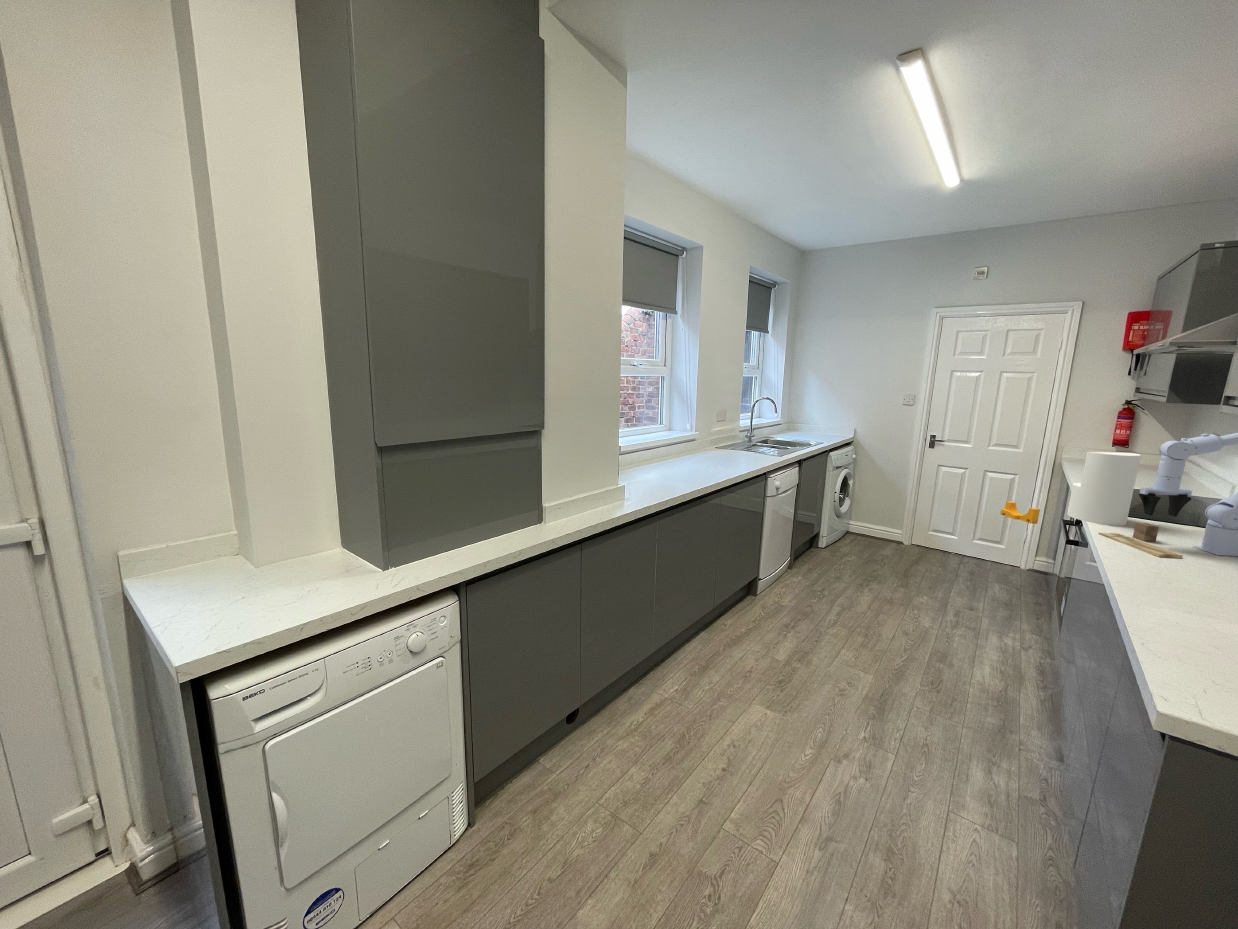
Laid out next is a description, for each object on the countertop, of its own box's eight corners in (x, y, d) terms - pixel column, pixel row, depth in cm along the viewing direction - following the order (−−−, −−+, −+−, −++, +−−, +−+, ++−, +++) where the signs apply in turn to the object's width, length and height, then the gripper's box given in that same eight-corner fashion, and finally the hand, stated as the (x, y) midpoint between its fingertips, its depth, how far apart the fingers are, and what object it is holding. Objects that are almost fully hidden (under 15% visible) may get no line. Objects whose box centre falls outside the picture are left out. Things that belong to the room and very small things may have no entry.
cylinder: (1139, 527, 189) (1154, 456, 184) (1093, 526, 189) (1108, 455, 184) (1096, 515, 206) (1110, 449, 201) (1055, 514, 206) (1067, 448, 201)
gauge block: (1144, 539, 175) (1147, 523, 174) (1155, 543, 171) (1159, 526, 170) (1132, 538, 175) (1135, 522, 174) (1143, 542, 171) (1146, 525, 170)
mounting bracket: (999, 516, 201) (1002, 501, 200) (1009, 516, 202) (1011, 501, 201) (1027, 525, 189) (1030, 509, 188) (1037, 525, 190) (1039, 509, 189)
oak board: (1118, 536, 178) (1119, 533, 178) (1182, 558, 156) (1182, 554, 156) (1098, 535, 178) (1098, 532, 178) (1158, 557, 157) (1159, 553, 157)
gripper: (1180, 474, 169) (1171, 512, 171) (1134, 473, 170) (1126, 511, 172) (1202, 479, 162) (1192, 518, 164) (1155, 477, 163) (1146, 516, 165)
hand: (1160, 515), depth 168 cm, fingers open, 7 cm apart
